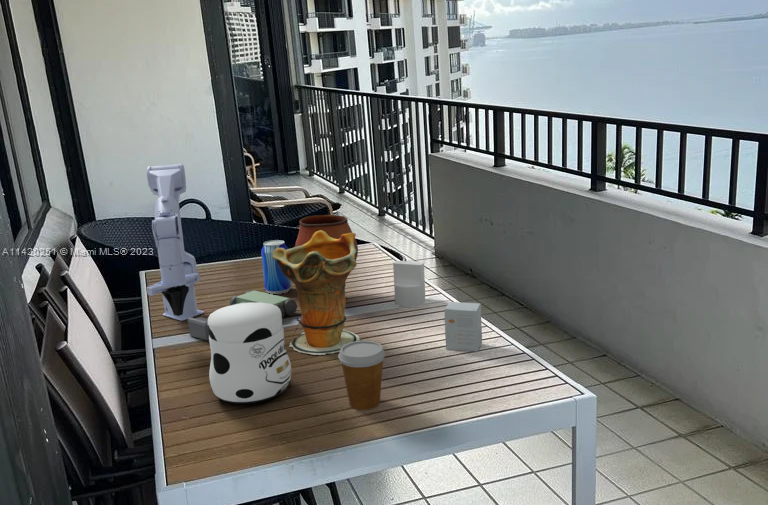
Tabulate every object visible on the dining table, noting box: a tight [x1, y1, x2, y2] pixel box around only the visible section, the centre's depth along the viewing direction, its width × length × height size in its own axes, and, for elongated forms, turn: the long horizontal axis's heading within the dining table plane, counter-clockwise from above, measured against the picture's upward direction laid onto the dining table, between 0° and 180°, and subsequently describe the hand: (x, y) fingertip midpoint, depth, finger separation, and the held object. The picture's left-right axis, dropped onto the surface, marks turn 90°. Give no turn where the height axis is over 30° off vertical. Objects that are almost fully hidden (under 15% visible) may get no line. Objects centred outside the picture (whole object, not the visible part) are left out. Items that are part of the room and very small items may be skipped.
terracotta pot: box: [294, 214, 359, 262], centre depth 205 cm, size 19×19×25 cm
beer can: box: [260, 239, 292, 295], centre depth 216 cm, size 8×8×16 cm
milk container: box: [207, 302, 292, 405], centre depth 146 cm, size 17×17×18 cm
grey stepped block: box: [187, 316, 209, 341], centre depth 184 cm, size 7×10×5 cm
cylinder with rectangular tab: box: [392, 260, 426, 308], centre depth 200 cm, size 9×9×12 cm
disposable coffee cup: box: [337, 340, 386, 411], centre depth 140 cm, size 10×10×12 cm
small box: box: [443, 301, 483, 353], centre depth 166 cm, size 8×6×10 cm
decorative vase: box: [272, 230, 361, 356], centre depth 171 cm, size 21×23×28 cm
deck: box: [229, 290, 298, 319], centre depth 197 cm, size 18×14×4 cm
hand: (178, 314), depth 175 cm, fingers closed
